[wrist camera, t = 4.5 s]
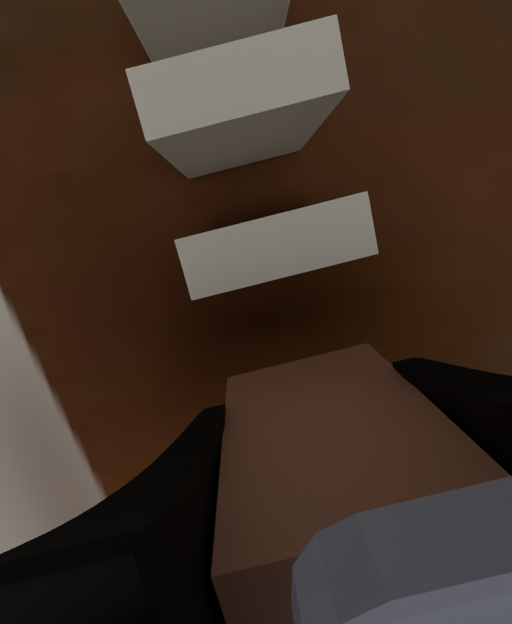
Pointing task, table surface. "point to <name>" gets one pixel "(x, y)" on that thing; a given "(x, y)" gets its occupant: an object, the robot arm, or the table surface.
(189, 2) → the ivory domino
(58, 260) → the table surface
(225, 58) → the ivory domino
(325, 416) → the terracotta domino
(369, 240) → the ivory domino
